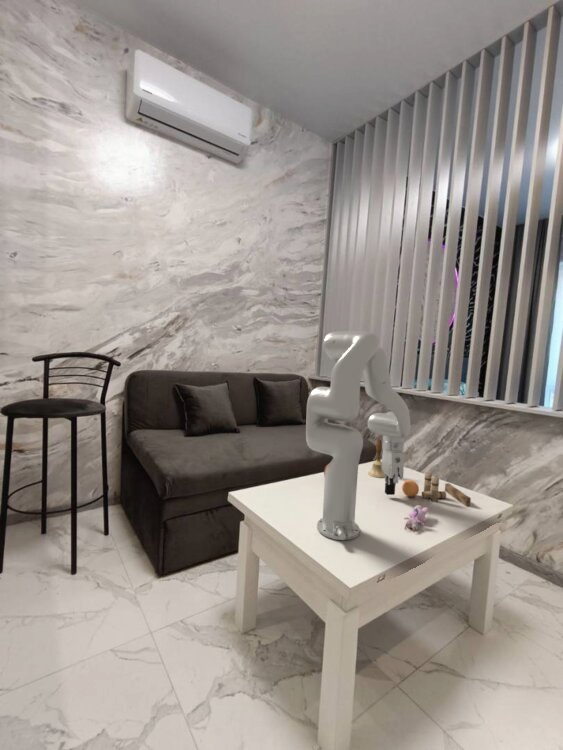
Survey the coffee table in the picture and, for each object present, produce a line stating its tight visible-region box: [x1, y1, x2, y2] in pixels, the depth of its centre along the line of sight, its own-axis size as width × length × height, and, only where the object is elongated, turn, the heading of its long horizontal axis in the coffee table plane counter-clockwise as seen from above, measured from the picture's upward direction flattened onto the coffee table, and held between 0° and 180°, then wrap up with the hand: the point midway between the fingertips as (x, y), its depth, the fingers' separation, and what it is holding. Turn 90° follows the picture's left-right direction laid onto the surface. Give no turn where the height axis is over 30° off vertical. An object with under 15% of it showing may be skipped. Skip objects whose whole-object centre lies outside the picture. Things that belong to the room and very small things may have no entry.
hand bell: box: [367, 438, 385, 479], centre depth 156 cm, size 8×8×16 cm
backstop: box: [444, 483, 472, 507], centre depth 134 cm, size 14×2×3 cm, turn 5°
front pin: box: [421, 490, 447, 499], centre depth 134 cm, size 2×2×8 cm
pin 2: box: [429, 476, 440, 503], centre depth 131 cm, size 2×2×8 cm
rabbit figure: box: [403, 504, 429, 533], centre depth 113 cm, size 6×6×15 cm
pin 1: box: [423, 471, 433, 491], centre depth 136 cm, size 2×2×8 cm
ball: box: [401, 479, 420, 498], centre depth 134 cm, size 6×6×6 cm
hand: (389, 493), depth 132 cm, fingers closed
